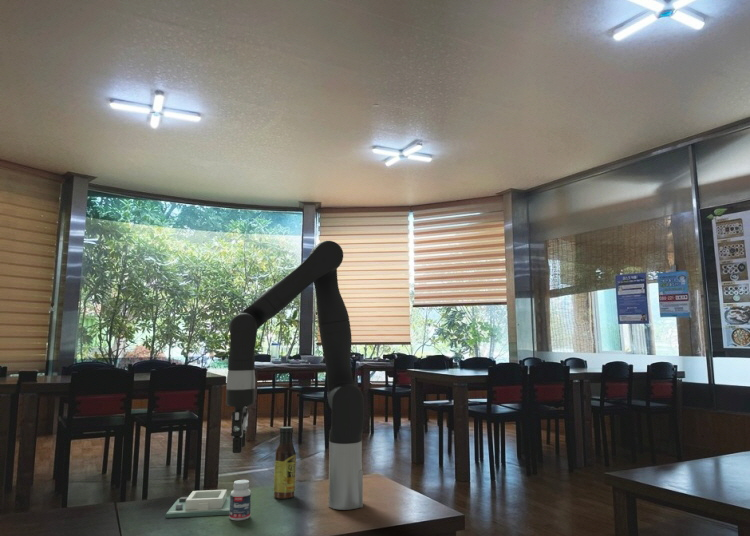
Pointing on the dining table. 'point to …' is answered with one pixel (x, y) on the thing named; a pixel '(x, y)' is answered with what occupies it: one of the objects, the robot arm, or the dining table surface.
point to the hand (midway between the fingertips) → (239, 449)
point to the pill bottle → (240, 501)
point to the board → (201, 504)
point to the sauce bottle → (285, 465)
